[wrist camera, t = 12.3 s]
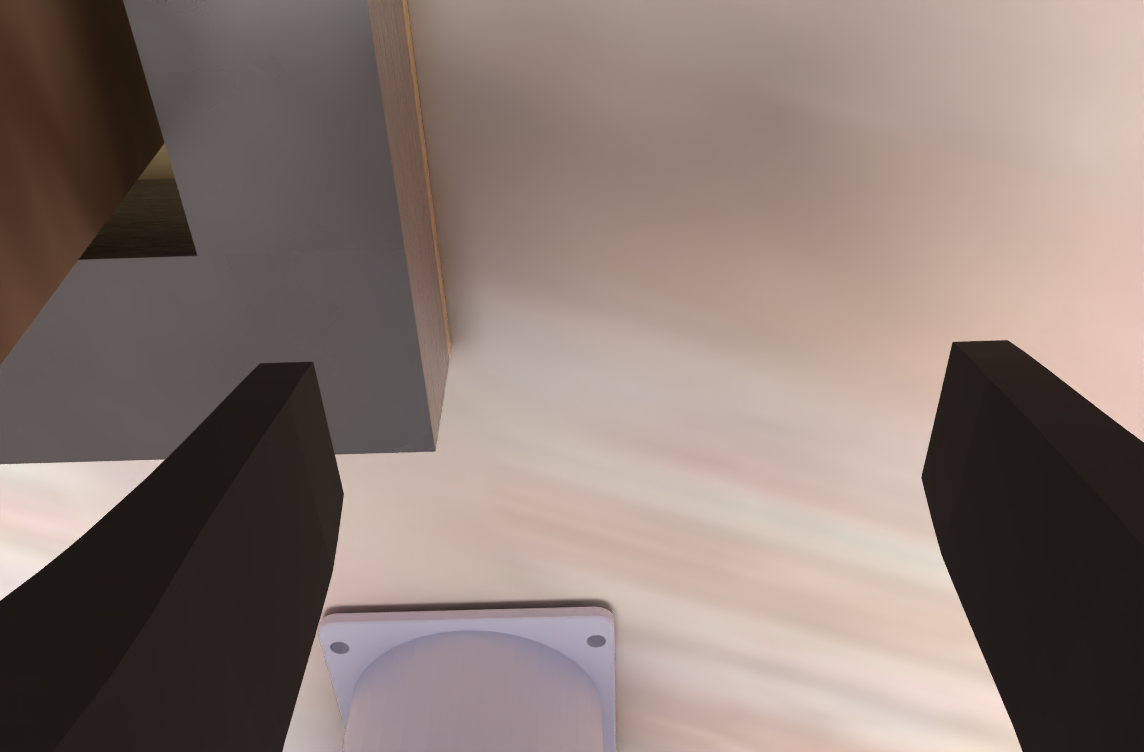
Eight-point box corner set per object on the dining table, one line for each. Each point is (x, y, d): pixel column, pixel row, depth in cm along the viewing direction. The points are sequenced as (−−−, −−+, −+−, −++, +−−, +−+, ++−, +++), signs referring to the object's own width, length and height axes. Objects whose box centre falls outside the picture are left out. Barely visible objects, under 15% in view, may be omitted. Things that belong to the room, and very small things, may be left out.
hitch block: (451, 346, 23) (435, 451, 20) (-130, 364, 23) (-227, 470, 20) (333, -569, 14) (274, -613, 11) (-621, -525, 14) (-919, -557, 11)
